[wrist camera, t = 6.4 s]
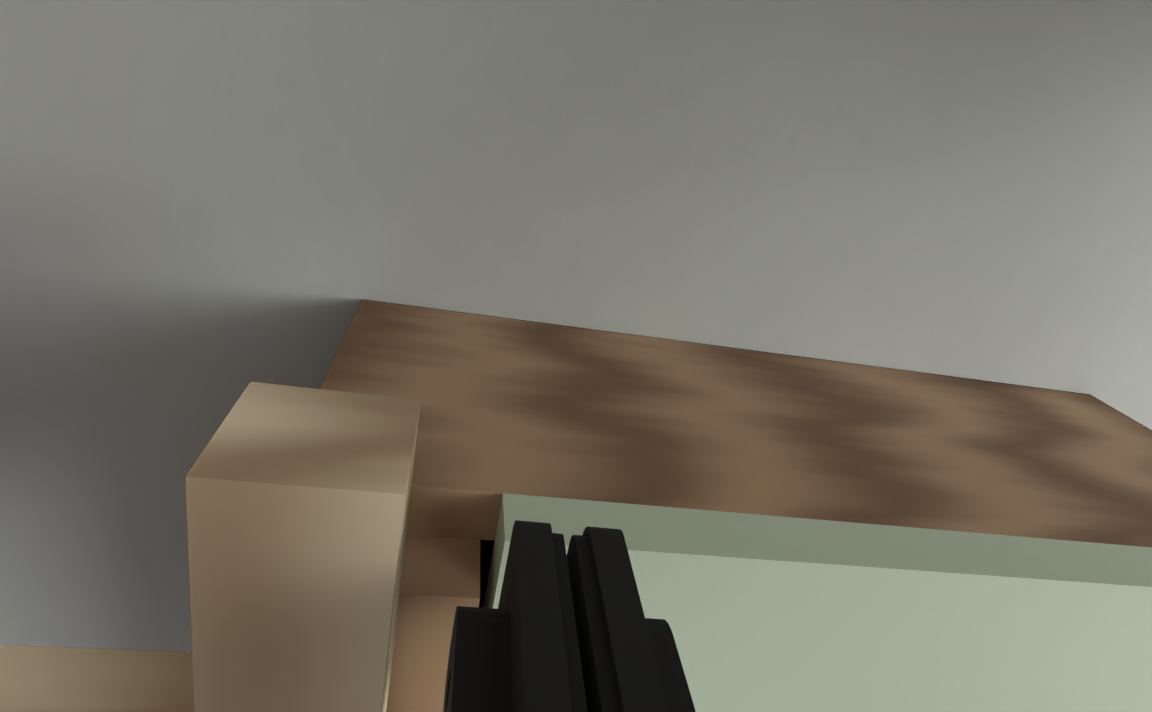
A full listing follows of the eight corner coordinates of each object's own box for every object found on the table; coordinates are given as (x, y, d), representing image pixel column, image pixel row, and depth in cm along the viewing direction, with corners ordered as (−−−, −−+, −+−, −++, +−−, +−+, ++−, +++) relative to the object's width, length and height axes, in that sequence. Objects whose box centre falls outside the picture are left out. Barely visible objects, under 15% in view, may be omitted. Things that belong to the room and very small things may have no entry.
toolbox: (1090, 394, 28) (1469, 614, 17) (935, 685, 34) (1142, 980, 23) (361, 299, 22) (253, 531, 12) (336, 663, 28) (250, 1030, 18)
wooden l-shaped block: (420, 399, 11) (403, 494, 9) (379, 768, 14) (360, 907, 12) (-185, 335, 9) (-399, 428, 7) (-74, 764, 13) (-195, 922, 10)
